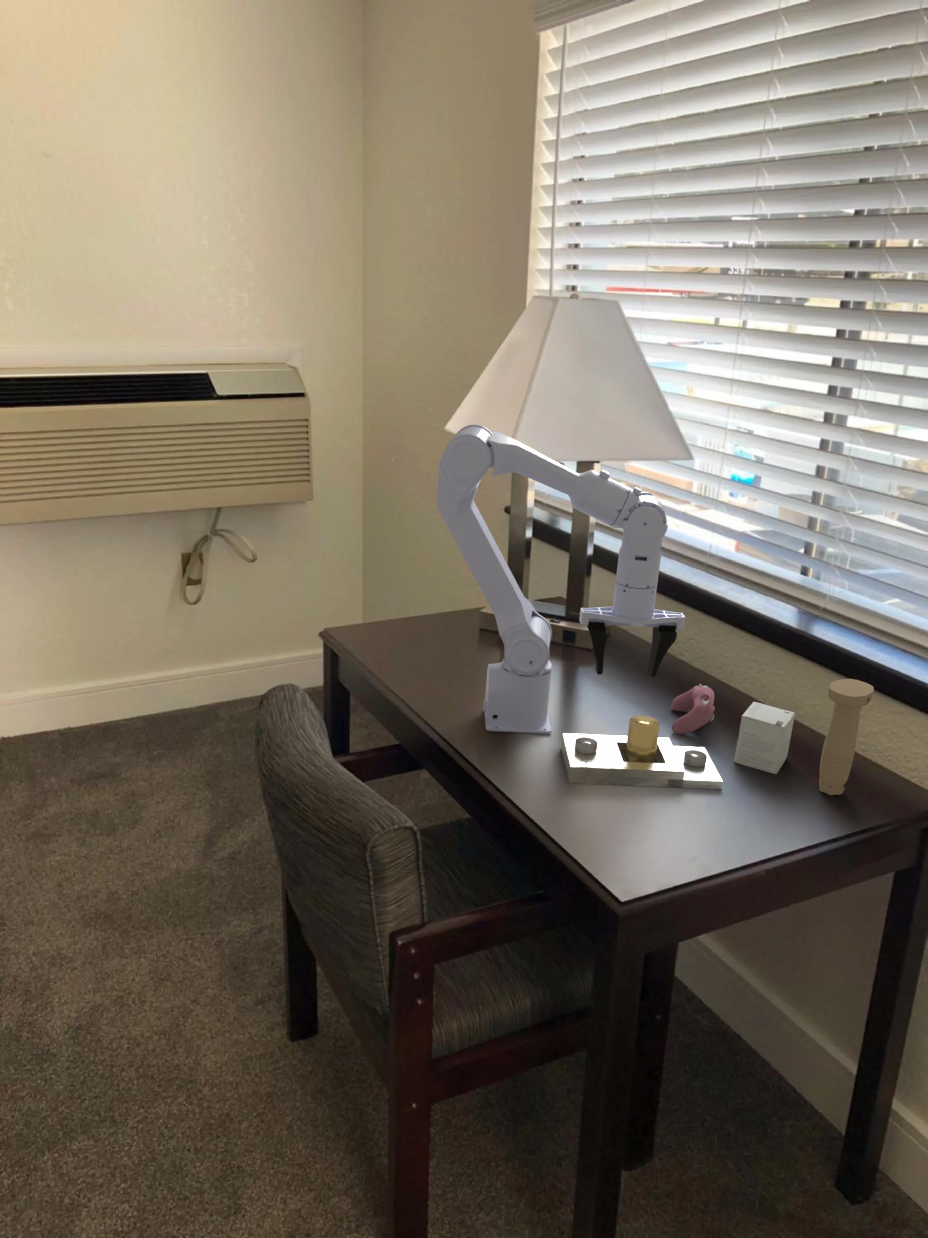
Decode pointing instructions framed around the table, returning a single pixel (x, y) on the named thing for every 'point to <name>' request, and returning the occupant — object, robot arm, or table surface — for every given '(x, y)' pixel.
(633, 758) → the brass pin
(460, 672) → the table surface
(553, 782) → the table surface
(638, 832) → the table surface
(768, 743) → the skincare box
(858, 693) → the handle
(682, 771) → the plate
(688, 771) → the right chain end
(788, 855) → the table surface
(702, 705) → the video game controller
